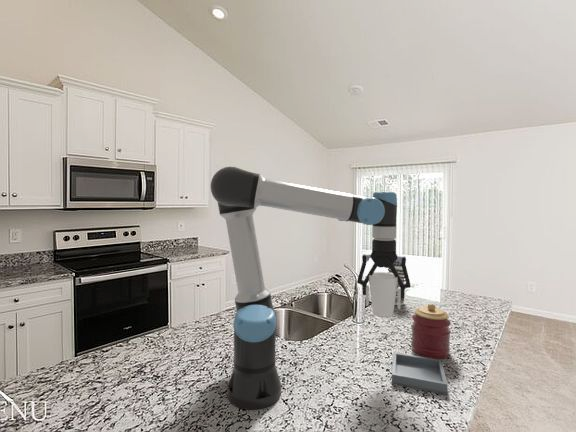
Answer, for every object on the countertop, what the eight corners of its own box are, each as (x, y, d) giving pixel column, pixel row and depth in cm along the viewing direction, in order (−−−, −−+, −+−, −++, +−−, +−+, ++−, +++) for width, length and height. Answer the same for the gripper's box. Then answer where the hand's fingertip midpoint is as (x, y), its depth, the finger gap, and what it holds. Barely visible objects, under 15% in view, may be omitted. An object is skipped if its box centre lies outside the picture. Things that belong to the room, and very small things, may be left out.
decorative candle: (383, 300, 177) (384, 255, 176) (397, 299, 180) (399, 255, 179) (393, 305, 168) (394, 258, 167) (408, 304, 171) (409, 257, 170)
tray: (447, 394, 91) (447, 384, 91) (391, 384, 96) (391, 374, 96) (441, 368, 106) (441, 360, 105) (393, 360, 111) (393, 352, 110)
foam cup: (399, 320, 101) (400, 279, 100) (369, 318, 103) (369, 278, 102) (395, 310, 110) (395, 272, 110) (367, 308, 112) (367, 271, 112)
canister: (445, 345, 123) (447, 300, 122) (453, 362, 110) (455, 311, 109) (409, 341, 126) (410, 297, 125) (412, 356, 114) (414, 307, 113)
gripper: (419, 239, 105) (418, 306, 107) (351, 236, 112) (350, 299, 114) (421, 241, 98) (419, 314, 99) (348, 238, 105) (347, 306, 106)
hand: (382, 306), depth 106 cm, fingers closed on foam cup, 9 cm apart
